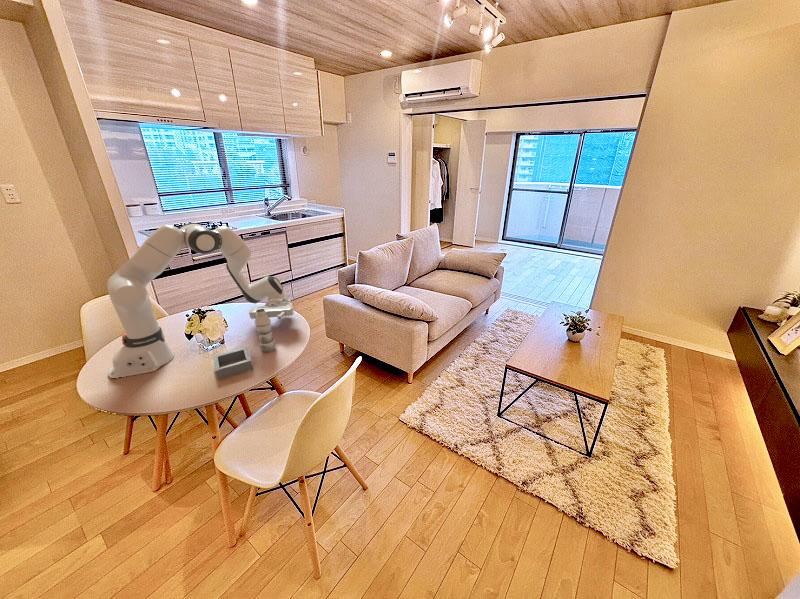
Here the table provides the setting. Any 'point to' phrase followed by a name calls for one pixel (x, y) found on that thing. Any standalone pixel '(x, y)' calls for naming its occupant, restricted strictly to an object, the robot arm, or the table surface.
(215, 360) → the collar socket
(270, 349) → the plastic bottle
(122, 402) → the table surface
